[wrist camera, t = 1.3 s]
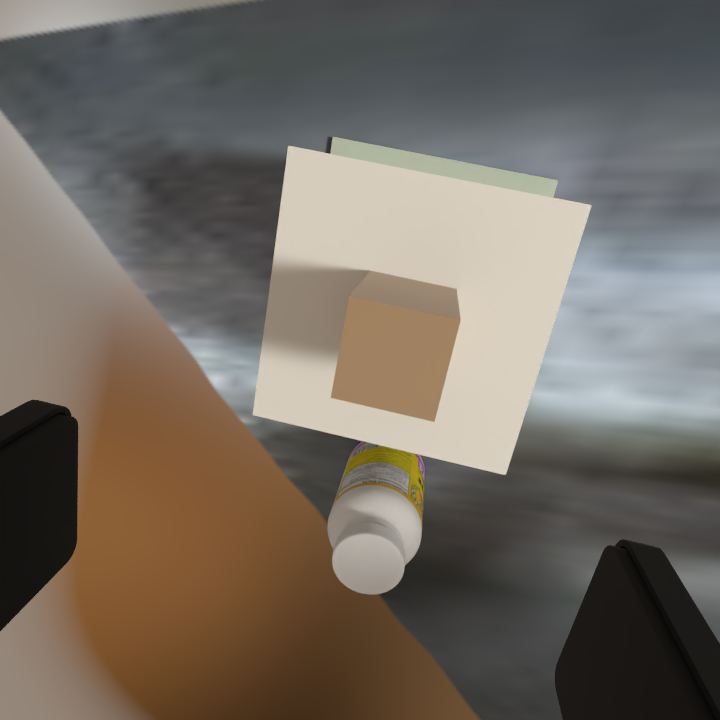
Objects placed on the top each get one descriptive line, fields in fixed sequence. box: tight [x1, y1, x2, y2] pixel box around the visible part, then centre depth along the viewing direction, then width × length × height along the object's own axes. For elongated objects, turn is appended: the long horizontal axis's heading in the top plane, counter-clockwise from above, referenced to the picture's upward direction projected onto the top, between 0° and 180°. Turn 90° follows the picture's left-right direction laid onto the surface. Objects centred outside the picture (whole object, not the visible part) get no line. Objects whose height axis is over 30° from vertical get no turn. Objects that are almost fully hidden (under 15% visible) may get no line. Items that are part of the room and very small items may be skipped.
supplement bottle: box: [327, 441, 425, 595], centre depth 40 cm, size 7×7×13 cm
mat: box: [330, 137, 558, 198], centre depth 40 cm, size 16×16×1 cm
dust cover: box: [253, 146, 592, 475], centre depth 30 cm, size 13×13×22 cm
